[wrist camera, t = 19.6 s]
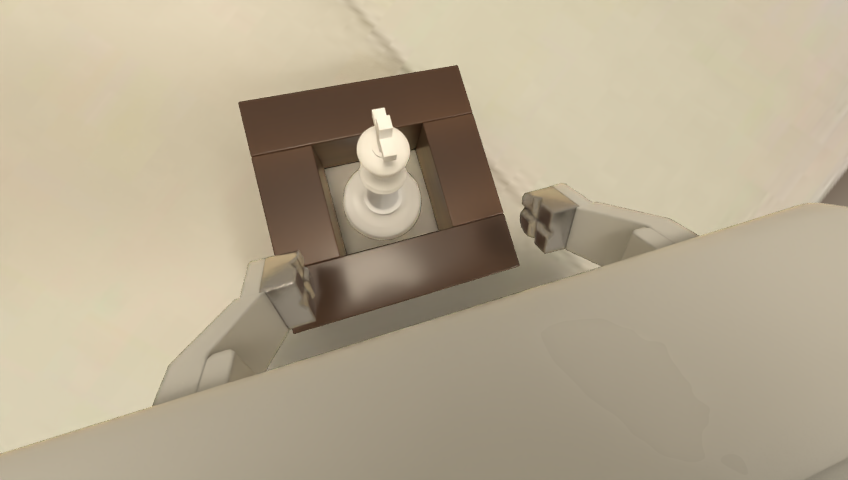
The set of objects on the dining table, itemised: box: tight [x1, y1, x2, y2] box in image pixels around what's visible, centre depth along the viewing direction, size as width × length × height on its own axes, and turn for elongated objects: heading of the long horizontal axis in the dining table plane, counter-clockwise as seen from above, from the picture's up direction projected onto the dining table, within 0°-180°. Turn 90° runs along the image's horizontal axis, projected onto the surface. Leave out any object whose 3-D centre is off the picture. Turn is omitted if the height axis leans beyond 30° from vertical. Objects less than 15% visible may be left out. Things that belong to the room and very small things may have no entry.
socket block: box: [238, 65, 520, 334], centre depth 18 cm, size 12×12×4 cm
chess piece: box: [343, 108, 421, 240], centre depth 14 cm, size 5×5×10 cm
